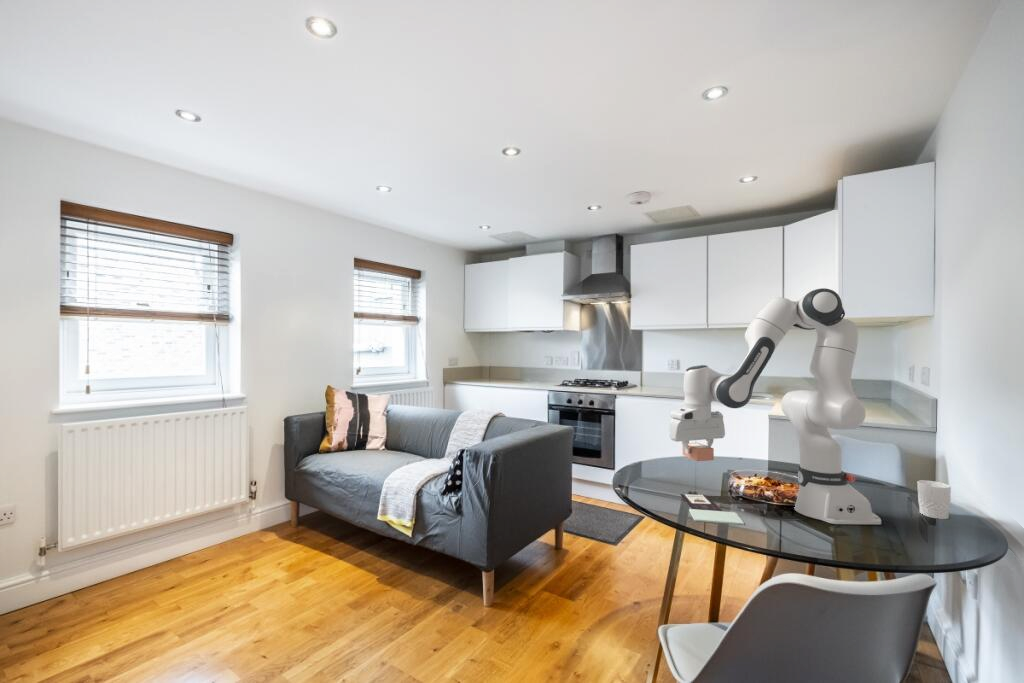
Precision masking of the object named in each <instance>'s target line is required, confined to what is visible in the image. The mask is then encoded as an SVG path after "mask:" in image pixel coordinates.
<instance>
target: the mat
mask: <svg viewBox="0 0 1024 683" xmlns="http://www.w3.org/2000/svg"><path fill="white" fill-rule="evenodd" d="M688 511H689V513H690V515H691V517H692V519H693V520H694V522H703V523H716V524H717V523H718V524H729V525H731V524H732V525H742V526H744V525H745V522H744V521H743V519H742V518H741V517H740V516H739V515H738V513H737V512H733V511H723V510H722V511H711V510H697V509H691V508H689V509H688Z"/></svg>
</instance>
